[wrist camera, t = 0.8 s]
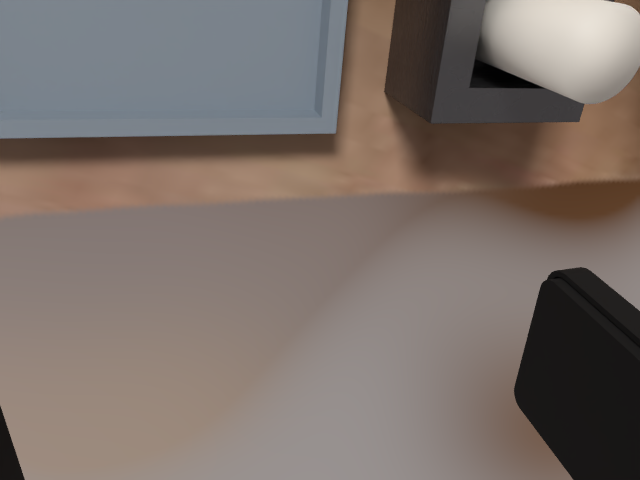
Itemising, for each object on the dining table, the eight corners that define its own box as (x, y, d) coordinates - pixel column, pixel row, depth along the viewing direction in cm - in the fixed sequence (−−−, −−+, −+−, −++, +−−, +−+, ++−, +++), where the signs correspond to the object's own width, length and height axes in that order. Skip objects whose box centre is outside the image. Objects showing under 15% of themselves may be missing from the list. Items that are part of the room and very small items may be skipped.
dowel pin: (512, -20, 37) (660, 5, 26) (497, 54, 39) (627, 104, 29) (448, -25, 35) (577, 0, 25) (435, 52, 37) (549, 104, 27)
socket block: (551, -67, 37) (632, -63, 31) (514, 92, 42) (578, 121, 36) (406, -81, 34) (464, -79, 28) (384, 91, 39) (430, 123, 33)
